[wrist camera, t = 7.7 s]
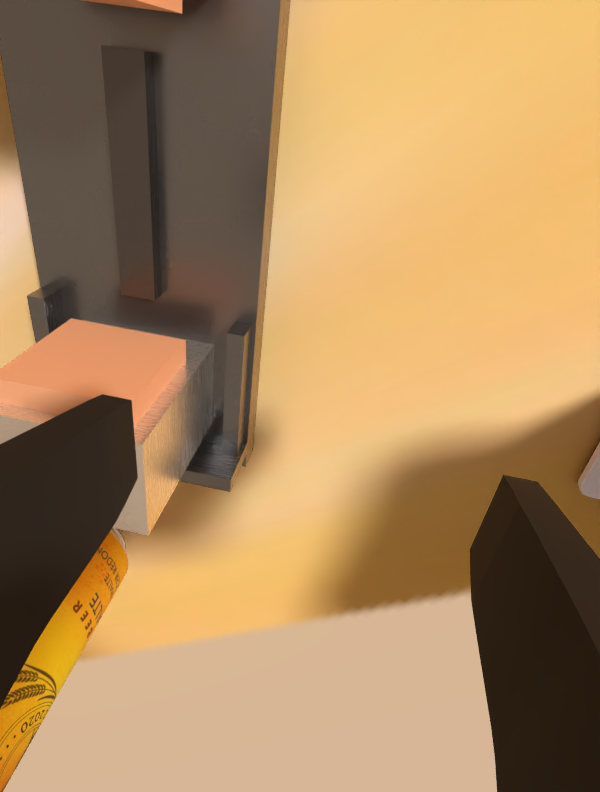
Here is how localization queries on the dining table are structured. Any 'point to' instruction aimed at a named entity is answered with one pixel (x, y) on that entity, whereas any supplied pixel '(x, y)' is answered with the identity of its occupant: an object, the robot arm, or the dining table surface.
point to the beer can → (58, 651)
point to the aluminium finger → (125, 378)
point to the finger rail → (154, 178)
